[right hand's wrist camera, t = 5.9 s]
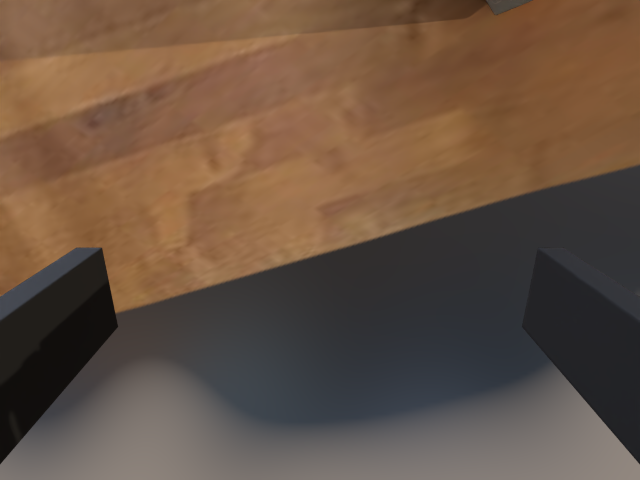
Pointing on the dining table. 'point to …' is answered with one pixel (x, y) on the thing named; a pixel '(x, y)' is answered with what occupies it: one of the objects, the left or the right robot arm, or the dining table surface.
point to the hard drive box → (504, 5)
